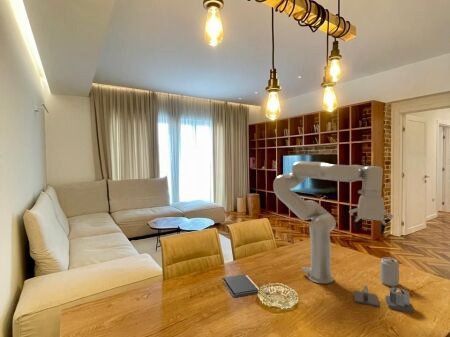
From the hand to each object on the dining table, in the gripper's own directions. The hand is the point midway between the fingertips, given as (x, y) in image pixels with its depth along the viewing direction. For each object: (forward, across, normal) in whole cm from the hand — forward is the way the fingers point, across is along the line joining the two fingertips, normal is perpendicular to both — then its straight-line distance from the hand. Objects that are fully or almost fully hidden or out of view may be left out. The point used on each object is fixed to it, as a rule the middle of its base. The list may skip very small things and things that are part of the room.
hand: (369, 231), depth 114 cm
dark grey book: (+31, -55, -14) cm, 65 cm away
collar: (+26, +11, -8) cm, 29 cm away
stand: (+28, -1, -7) cm, 29 cm away
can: (+28, +12, +12) cm, 33 cm away
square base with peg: (+28, +11, -8) cm, 31 cm away
